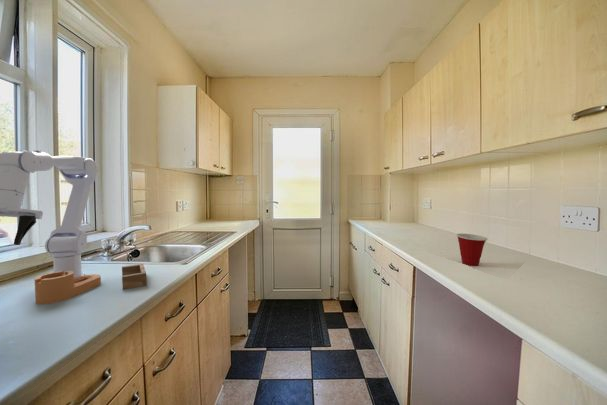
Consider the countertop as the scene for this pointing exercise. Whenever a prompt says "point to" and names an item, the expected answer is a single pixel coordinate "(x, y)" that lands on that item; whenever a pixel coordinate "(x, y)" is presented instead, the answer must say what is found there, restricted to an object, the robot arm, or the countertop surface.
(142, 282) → the jig
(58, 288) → the bracket
